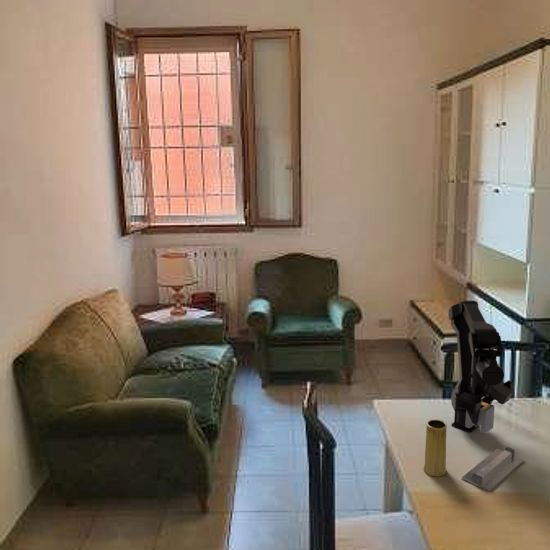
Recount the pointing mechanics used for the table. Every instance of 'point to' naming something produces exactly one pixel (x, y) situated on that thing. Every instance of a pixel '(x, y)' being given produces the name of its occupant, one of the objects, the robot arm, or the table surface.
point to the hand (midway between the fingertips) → (479, 420)
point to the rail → (495, 475)
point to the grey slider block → (483, 418)
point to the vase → (435, 448)
